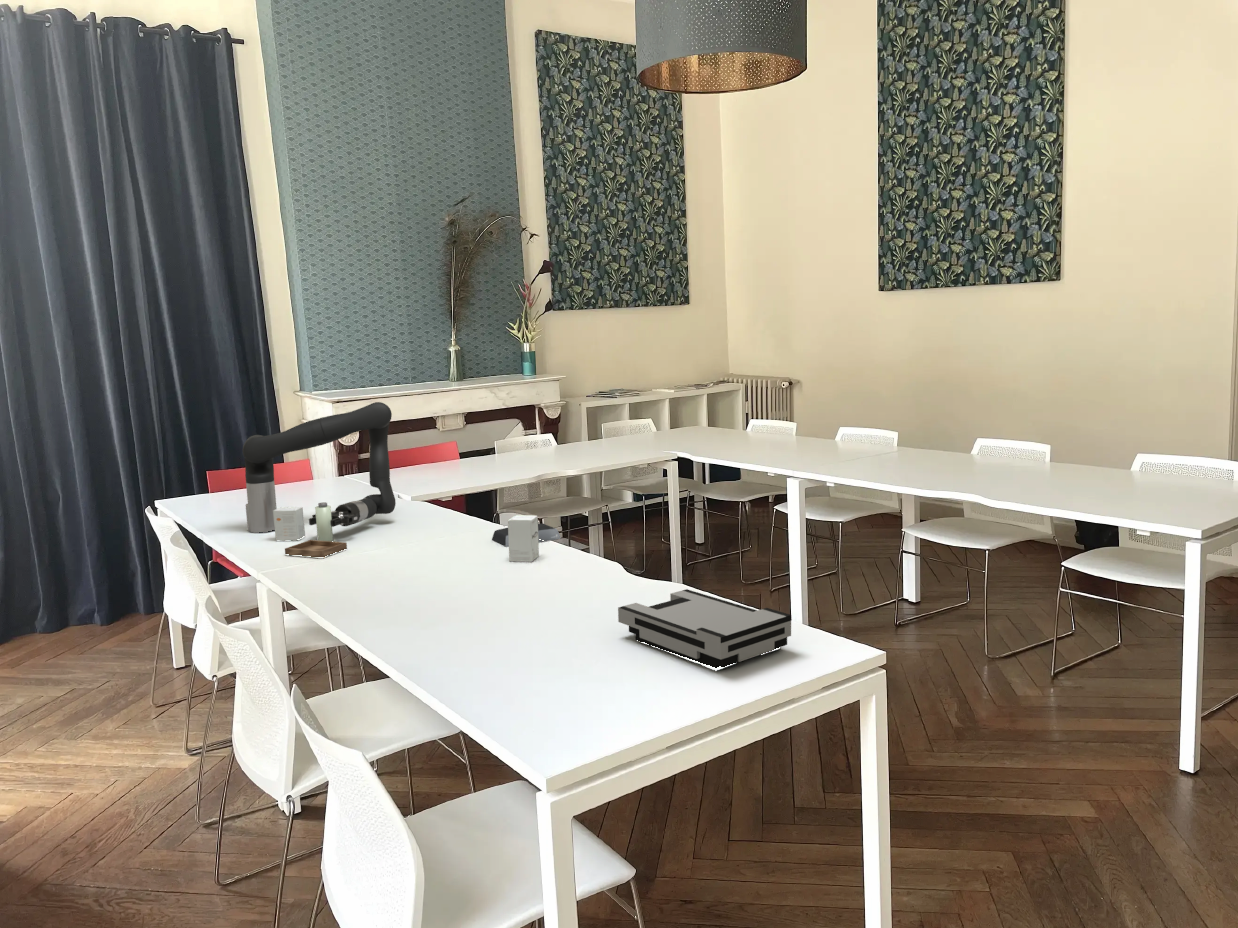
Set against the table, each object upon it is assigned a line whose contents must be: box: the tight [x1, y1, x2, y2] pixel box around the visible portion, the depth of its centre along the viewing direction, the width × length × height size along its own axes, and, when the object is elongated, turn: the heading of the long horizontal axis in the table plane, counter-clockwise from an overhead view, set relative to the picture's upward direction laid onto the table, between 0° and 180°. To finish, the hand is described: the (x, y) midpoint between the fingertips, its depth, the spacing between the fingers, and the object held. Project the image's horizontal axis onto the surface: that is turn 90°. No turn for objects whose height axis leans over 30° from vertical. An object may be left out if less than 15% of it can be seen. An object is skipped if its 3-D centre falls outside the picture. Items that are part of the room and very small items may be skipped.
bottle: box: [314, 502, 334, 542], centre depth 309 cm, size 5×5×13 cm
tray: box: [284, 539, 348, 557], centre depth 297 cm, size 14×12×2 cm
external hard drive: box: [491, 523, 561, 548], centre depth 308 cm, size 13×19×4 cm
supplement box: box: [507, 514, 540, 563], centre depth 282 cm, size 7×7×13 cm
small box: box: [273, 506, 306, 541], centre depth 316 cm, size 8×6×10 cm
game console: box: [617, 588, 792, 668], centre depth 205 cm, size 21×32×8 cm, turn 39°
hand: (320, 522), depth 308 cm, fingers open, 8 cm apart
